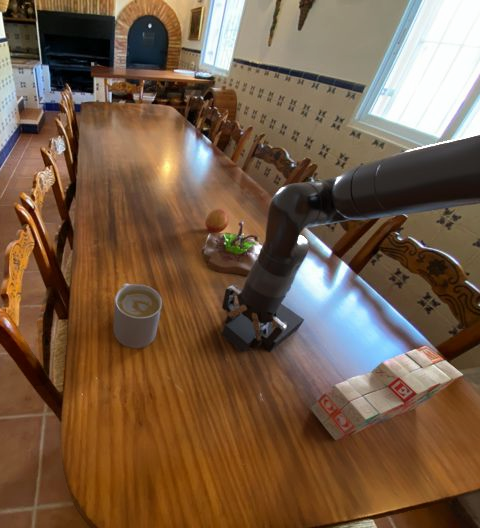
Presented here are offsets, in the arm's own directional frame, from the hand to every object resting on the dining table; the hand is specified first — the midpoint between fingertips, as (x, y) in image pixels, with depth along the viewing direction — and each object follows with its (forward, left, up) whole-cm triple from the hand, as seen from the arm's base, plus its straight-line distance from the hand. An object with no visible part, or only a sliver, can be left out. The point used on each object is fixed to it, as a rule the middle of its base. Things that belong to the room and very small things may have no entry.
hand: (241, 336), depth 67 cm
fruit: (+35, -31, -2) cm, 47 cm away
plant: (+22, -25, -2) cm, 34 cm away
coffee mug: (+17, +18, -2) cm, 25 cm away
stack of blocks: (-24, -8, -2) cm, 25 cm away
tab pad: (0, -1, -1) cm, 1 cm away
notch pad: (0, -9, -2) cm, 9 cm away
